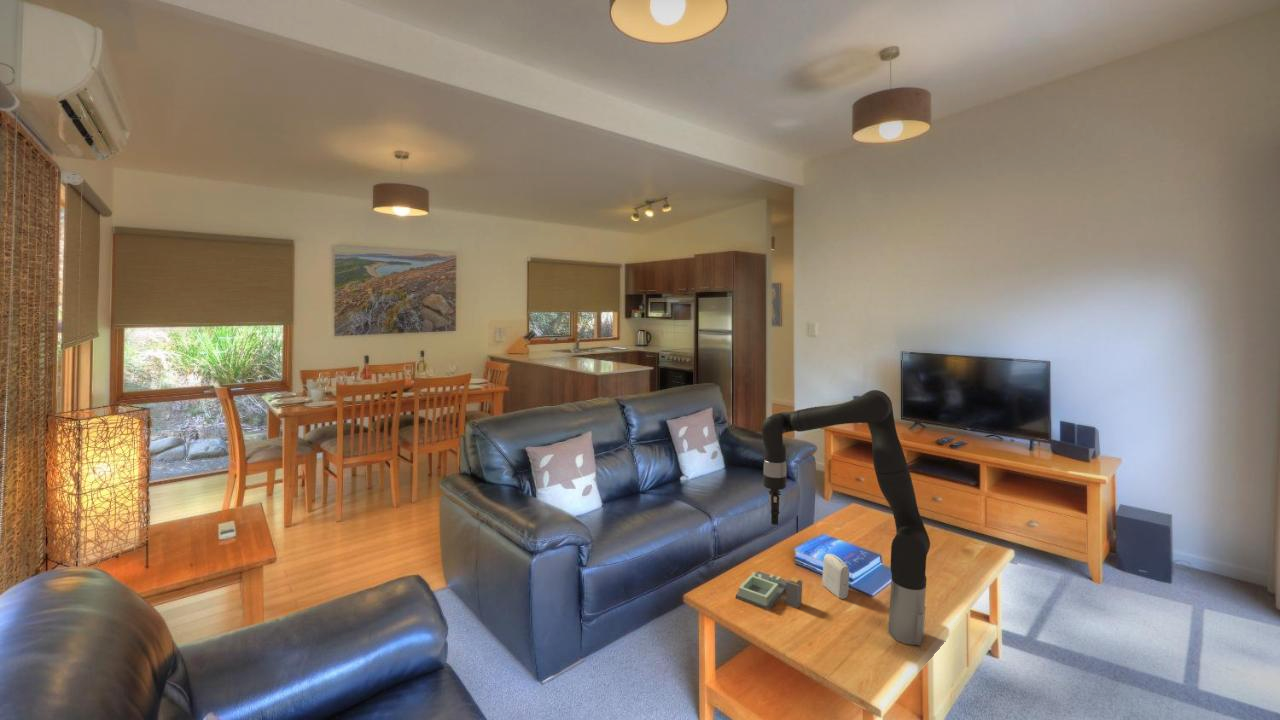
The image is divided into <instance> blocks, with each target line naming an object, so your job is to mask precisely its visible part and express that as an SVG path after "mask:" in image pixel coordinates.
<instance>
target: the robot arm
mask: <svg viewBox="0 0 1280 720" xmlns="http://www.w3.org/2000/svg"><path fill="white" fill-rule="evenodd" d="M894 416H895V415H894V409H893V403H892V400H891V398H890V397H889V396H888V395H887V394H886V393H885V392H883V391H882V390H879V389H878V390H877V389H872V390H869V391H867V392H865V393H864V394H862V395H861V396H860V397H857V398H854V399H851V400H849V401H846V402H842V403H838V404H831V405H822V406H821V405H820V406H814V407H813V406H812V407H807V408H803V409H797V410H794V411H784V412H778V413H773V414H772V415H769V417H766V418H765V419H764V420H763V422H762V426H761V434H762V435H761V436H762V440H763V441H762V442H763V445H764V460H763V486H764V487H765V489H770V490H768V499H769V507H770V514H771V517H770V519H771V520H770V523H771V525H775V526H778V525H779V514H780V508H781V499H782V493H781V490H784V489H786V487H787V461H786V460H787V448H786V445H785V443H784V440H783V438H784V437H783V434H786V433H790V432H808V431H812V430H819V429H823V428H827V427H832V426H838V425H847V424H867V426H868V429H869V433H870V436H871V437H870V438H871V443H872V445H871V446H872V447H871V448H872V461H873V462H872V463H873V467H874V468H873V469H874V472H875V475H876V476H875V477H876V480H877V482H878V486H879V489H880V491H881V493H882V495H883V496H884V498H885V500H886V502H887V503H888V505H889V507H890V509H891V512H892V515H893V519H894V523H895V524H894V525H895V531H896V534H895V535H894V537H893V539H892V542H891V547H890V565H889V566H890V567H889V568H890V572H891V575H890V577H891V578H890V580H891V581H890V596H889V612H888V613H889V614H888V624H887V625H888V626H887V627H888V628H887V629H888V631H887V632H888V634H889V636H890V637H892V638H893V639H894V640H896V642H900V643H902V644H904V645H911V646H913V645H914V646H918V645H919V647H921V646H922V643H923V639H924V637H925V623H926V622H925V619H926V610H927V609H926V594H927V593H926V592H927V591H926V590H927V575H926V567H927V566H926V565H927V556H928V553H929V551H930V548H931V540H930V538H929V534H928V532H927V530H926V527H925V524H924V522H923V519H922V517H921V514H920V511H919V508H918V504H917V497H916V493H915V489H914V484H913V481H912V476H911V473H910V469H909V465H908V463H907V458H906V457H905V453H904V450H903V446H902V443H901V440H900V439H899V436H898V432H897V429H896V423H895V422H896V421H895V417H894Z"/></svg>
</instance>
